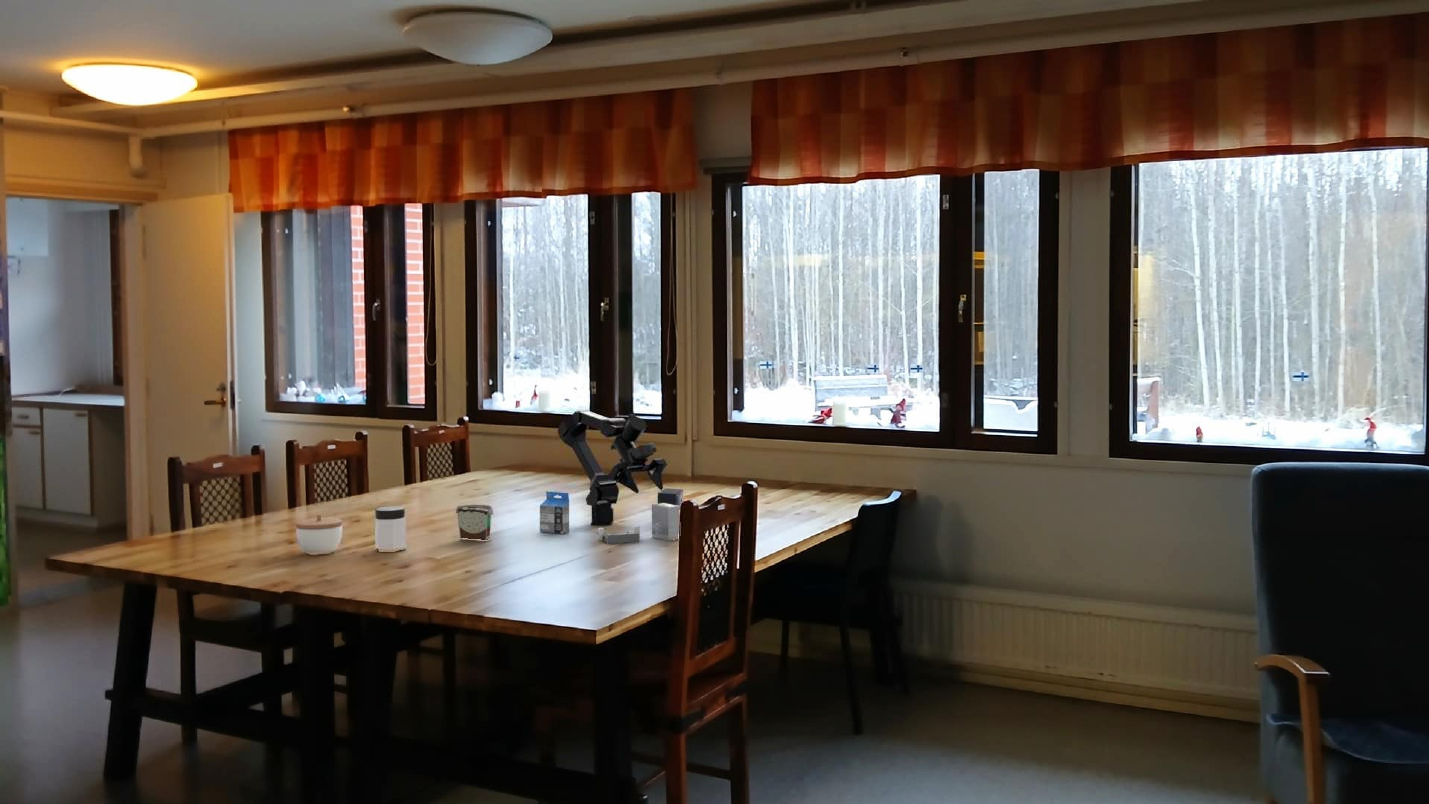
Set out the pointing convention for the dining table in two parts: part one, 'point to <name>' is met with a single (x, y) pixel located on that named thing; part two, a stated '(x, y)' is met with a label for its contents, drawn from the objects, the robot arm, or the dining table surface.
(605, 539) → the dock
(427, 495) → the dining table surface
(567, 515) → the label tape box
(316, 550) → the lidded bowl
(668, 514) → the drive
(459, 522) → the food container
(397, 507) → the jar
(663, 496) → the small box
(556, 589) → the dining table surface
